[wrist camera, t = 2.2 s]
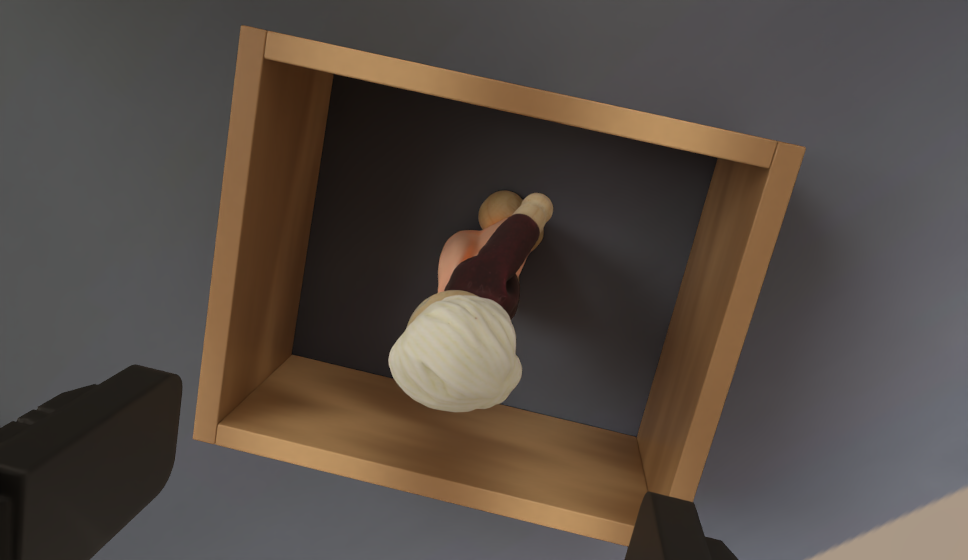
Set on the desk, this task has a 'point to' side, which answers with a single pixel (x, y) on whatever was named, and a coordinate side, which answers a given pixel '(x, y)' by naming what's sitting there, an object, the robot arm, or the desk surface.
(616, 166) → the desk surface
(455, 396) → the grandmother figurine
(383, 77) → the birch box
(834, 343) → the desk surface
